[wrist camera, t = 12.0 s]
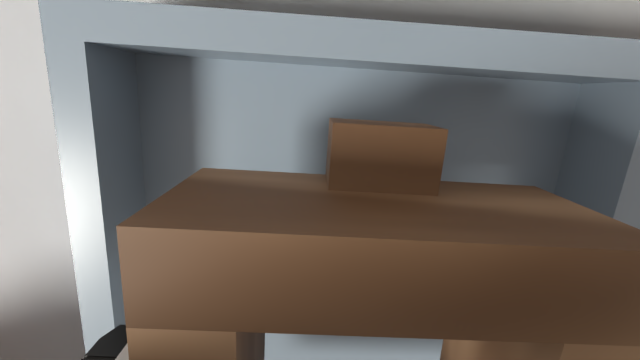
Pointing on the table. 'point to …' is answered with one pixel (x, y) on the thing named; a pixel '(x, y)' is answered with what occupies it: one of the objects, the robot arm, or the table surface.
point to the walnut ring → (377, 259)
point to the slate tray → (318, 119)
